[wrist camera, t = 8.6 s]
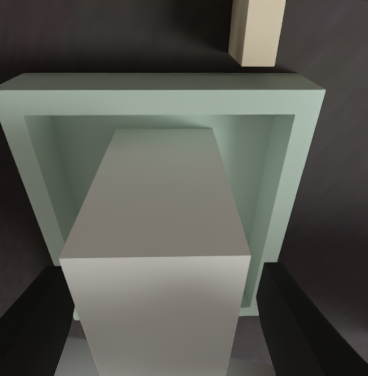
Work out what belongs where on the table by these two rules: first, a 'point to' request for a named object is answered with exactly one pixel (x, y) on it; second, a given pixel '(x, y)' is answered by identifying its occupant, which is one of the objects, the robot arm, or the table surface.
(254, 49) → the frame
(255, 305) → the tray
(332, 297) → the table surface
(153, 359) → the tall grey box
